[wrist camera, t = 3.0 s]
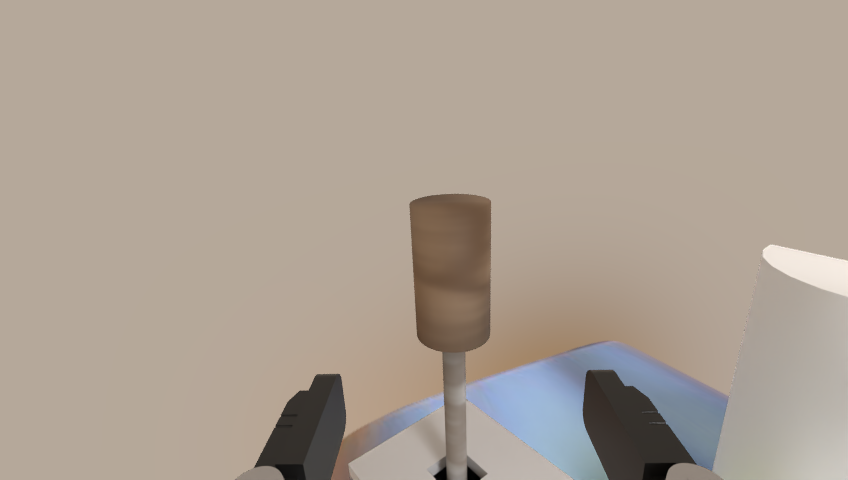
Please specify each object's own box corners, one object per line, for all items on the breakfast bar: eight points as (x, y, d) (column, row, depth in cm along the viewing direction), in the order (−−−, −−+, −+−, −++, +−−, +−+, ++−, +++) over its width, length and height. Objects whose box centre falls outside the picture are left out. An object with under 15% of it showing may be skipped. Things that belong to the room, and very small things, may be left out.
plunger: (461, 489, 35) (454, 184, 27) (532, 560, 29) (552, 200, 21) (389, 546, 31) (354, 204, 22) (455, 643, 25) (441, 231, 17)
